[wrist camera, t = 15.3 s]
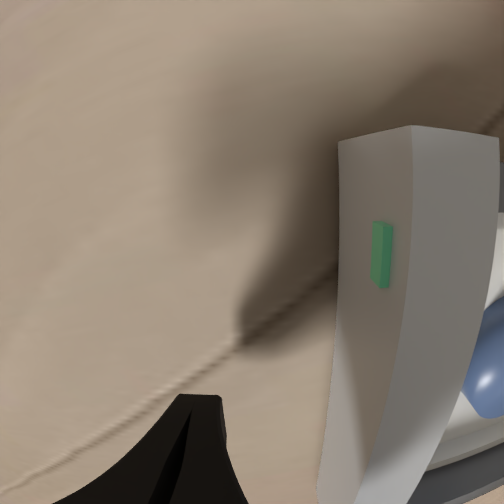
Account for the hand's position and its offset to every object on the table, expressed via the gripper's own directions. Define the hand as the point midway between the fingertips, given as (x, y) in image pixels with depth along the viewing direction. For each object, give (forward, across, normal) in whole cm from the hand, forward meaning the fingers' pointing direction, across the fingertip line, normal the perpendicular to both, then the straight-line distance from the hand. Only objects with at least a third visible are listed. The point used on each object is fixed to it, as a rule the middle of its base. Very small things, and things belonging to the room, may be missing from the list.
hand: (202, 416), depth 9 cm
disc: (+2, -13, 0) cm, 13 cm away
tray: (+2, -12, 0) cm, 12 cm away
